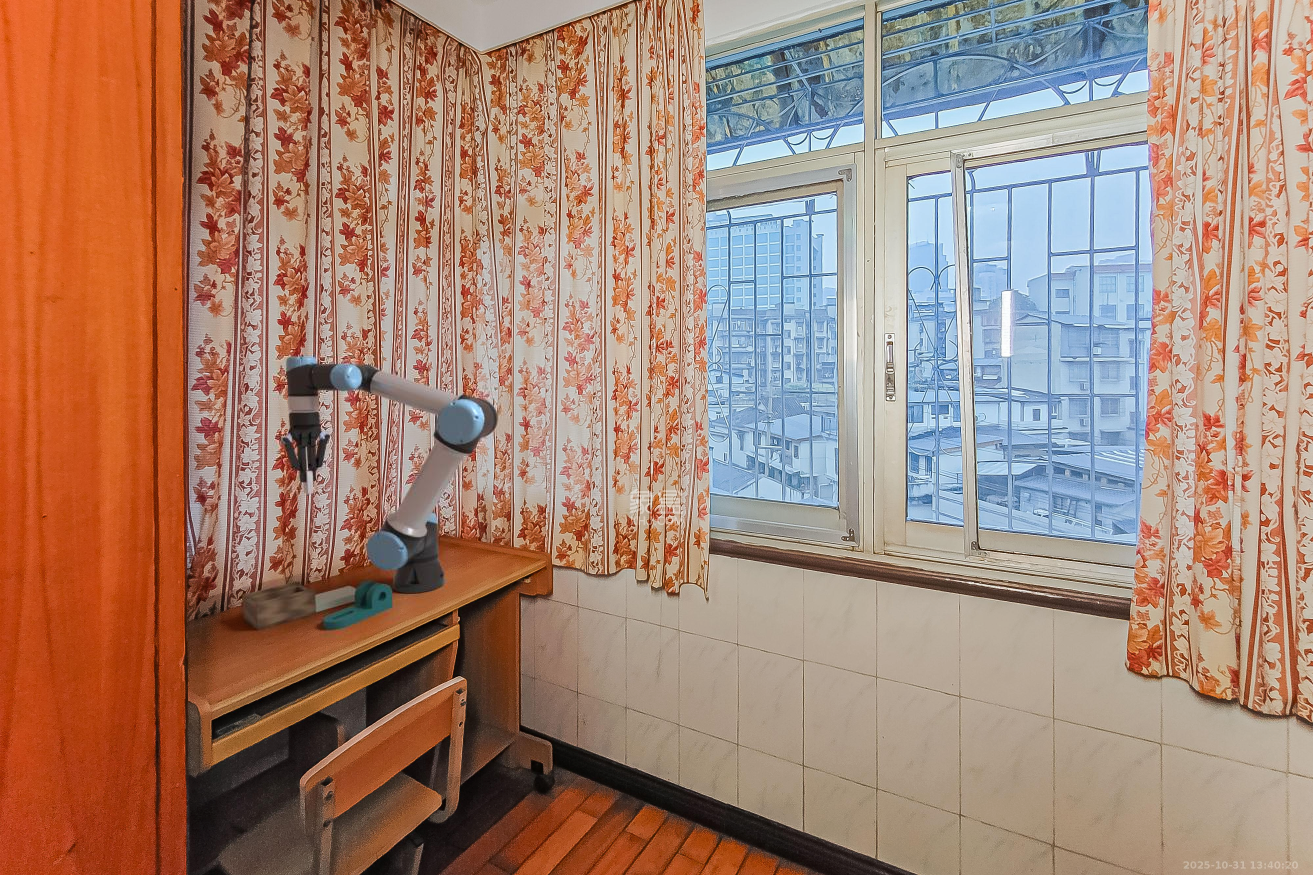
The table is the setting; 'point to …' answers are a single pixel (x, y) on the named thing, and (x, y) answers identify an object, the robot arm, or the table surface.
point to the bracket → (361, 605)
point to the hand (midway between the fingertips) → (308, 492)
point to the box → (278, 605)
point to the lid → (335, 598)
